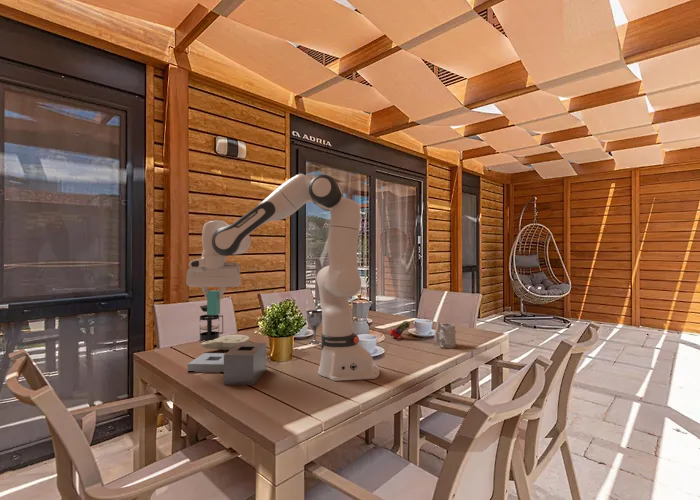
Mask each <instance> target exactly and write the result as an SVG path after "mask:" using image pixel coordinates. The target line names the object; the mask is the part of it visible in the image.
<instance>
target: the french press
mask: <svg viewBox="0 0 700 500" xmlns="http://www.w3.org/2000/svg"><path fill="white" fill-rule="evenodd" d="M199 308H200V309H201V310H202V312H203V313H207V304H204V305H200V306H199ZM220 317H222V321H221V322H222V326H221V327H222V329H221V330H222V332H220V331H216V330H217V329H219V328H220V325H214V324H213V325H212V323H213V322H212V321H215V320H220ZM199 321H207V322H206V323H207V325H203V326H200V331H201V330H202V331H204V332H199V342H200V341H203V340H205V341H209V340H214V339H217V338H219V337H220V335H221V334H224V315H220V314H218V315H207V314H202V315H200V316H199ZM213 330H214V331H213Z"/></svg>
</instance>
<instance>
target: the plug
mask: <svg viewBox="0 0 700 500" xmlns="http://www.w3.org/2000/svg"><path fill="white" fill-rule="evenodd" d="M220 293H221V290H218V289H217V290H214V289H211V290H207V299H206V305H207V312H206V315H220V314H221V299H218V294H220Z"/></svg>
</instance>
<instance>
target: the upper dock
mask: <svg viewBox="0 0 700 500" xmlns="http://www.w3.org/2000/svg"><path fill="white" fill-rule="evenodd" d="M224 353H225V354H224V373H223V385H224V386H254V385H255V384H256V383H257V382H258V380H259V379H260V378H261V376H262V375H263V374H264V373H265V371H266V370H267V342H248V343H238V344H237V345H236V346H235V347H233V348H232V349H231V350H229V351H226V352H224Z"/></svg>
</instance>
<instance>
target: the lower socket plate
mask: <svg viewBox="0 0 700 500" xmlns="http://www.w3.org/2000/svg"><path fill="white" fill-rule="evenodd" d="M225 353H226V352H224V353H223V352H214V353H213V352H203V353H202V354H201V355H199V356H197V357H196V358H195V359H193V360H192V361H189V362H188V363H187V372H188V371H195V372H194V373H220V372H224V354H225Z"/></svg>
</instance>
